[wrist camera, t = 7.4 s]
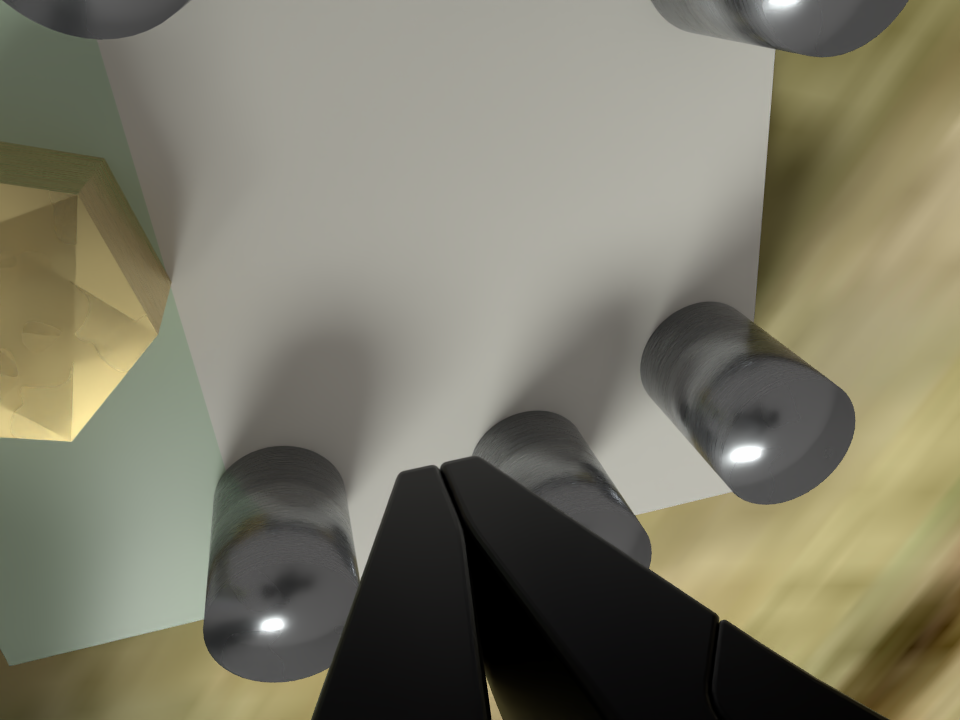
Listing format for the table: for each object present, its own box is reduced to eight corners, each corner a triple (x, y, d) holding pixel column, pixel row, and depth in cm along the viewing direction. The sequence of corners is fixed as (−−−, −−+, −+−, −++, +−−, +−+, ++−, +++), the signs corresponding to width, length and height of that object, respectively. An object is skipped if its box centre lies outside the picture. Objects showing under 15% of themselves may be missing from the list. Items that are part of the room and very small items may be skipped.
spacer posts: (235, 579, 19) (231, 715, 16) (-20, -228, 12) (-135, -300, 8) (743, 460, 22) (834, 557, 18) (800, -280, 14) (976, -354, 11)
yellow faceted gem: (-12, 416, 16) (-53, 489, 14) (-191, 176, 14) (-277, 219, 11) (201, 337, 17) (193, 395, 14) (65, 87, 14) (30, 112, 12)
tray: (18, 640, 20) (9, 666, 19) (-455, -278, 11) (-502, -292, 10) (726, 473, 23) (740, 489, 22) (780, -340, 14) (806, -354, 14)
